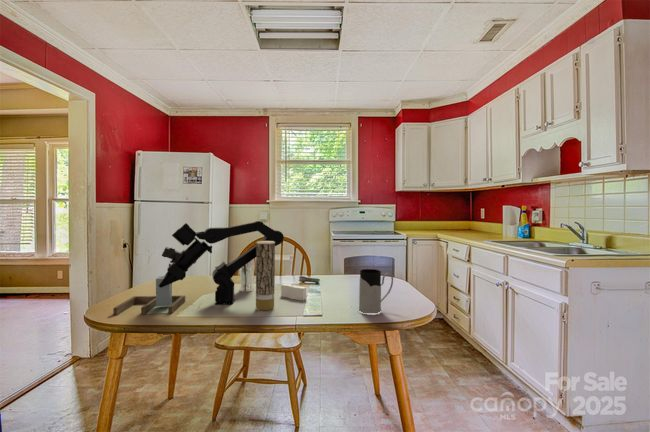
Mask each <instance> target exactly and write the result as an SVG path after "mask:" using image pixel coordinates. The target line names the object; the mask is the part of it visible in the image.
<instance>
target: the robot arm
mask: <svg viewBox="0 0 650 432" xmlns="http://www.w3.org/2000/svg"><path fill="white" fill-rule="evenodd" d="M255 232H259V233H260V234H261V235H262V236H263V237H262V239H261V240H260V241H274V242H275V247H277V246H279V245H281V244H282V243H283V242H284V240H285V239H284V238H285V237H284V233H282V232H281V231H279V230H276V229H273V228H271V227H270V226H268V225H266V224H265V223H264V222H263V221H260V220H256V221H253V222H247V223H243V224H238V225H233V226H228V227H208V228H206V229H205V230H203V231H198V232H196V231H195V230H194V229H193V228H191V226H190V225H189V224H188V223H187V222H185V223H184V224H183V225H182V226H180V228H178V229H177V230H176V231H174V233H172V235H171V237H173V238H174V239H175V240H176V241H177V242H178V243H179V244H180V245H182V246H185V245H186V246H188V247H187V248H186V249H183V250H182V251H178V250H176V248H173V247H168V246H166V247H165V248H164V249H163V252H162V253H161V256H162V257H163V258H167V259H170V263H168V266H167V269H166V270H167V272H166V273H165V275H164V276H165V278H164V279H163V280H162V282H161V283H160V285H159V287H160V288H162V287H164V286H166V285H168V284H171V283H172V284H173V283H175V282H177V281H183V280H184V279H185V278H186V274H187V272H188V271H189V268H191V267H192V266H193V265H194V264H196V263H197V260H199V259H200V258H201V257H202V256H203V255H204V254H205V253H206V252H208V253H209V254H212V253H213V244H216V243H218V242H221V241H224V240H225V239H228V238H230V237H234V236H240V235H244V234H249V233H255ZM200 240H203V241H200ZM208 244H210V245H208ZM211 244H212V245H211ZM253 259H254V260H255V259H256V244H255V245H254V246H252V247H251V248H249V249H248V250H246V251H245V252H243V253H241V255H239V256H238V257H237V258H235V259H234V260H232V261H230V262H228V263H226V261H222V262H221V263H220V264H219V265H218V266H215V267H214V268H215V269H214V270H213V271H212V280H213V282H214V283H215V284H216V285H218V286H216V291H214V292H215V293H214V302H215V305H233V304H234V302H235V301H236V298H235V282H234V280H233V279H232V278H233V277H234V276H235V274H236V273H237V271H238V272H239V269H240V268H242V267H243V266H244V265H246V264H247V263H249V262H250V261H251V260H253Z"/></svg>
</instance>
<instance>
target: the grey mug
mask: <svg viewBox="0 0 650 432" xmlns="http://www.w3.org/2000/svg"><path fill="white" fill-rule="evenodd" d="M359 274H360V275H359V276H360V277H359V289H358V290H359V296H358V298H359V299H358V301H359V302H358V304H359V305H358V309H359V311H361V312H363V313H378V312H380V311H382V306H381V305H382V302H383V301H384V300H385V299H386V298H387V297H388V295H389V294H390V293H391V290H392V289H393V284H394V276H393V274H391V272H390V273H389V272H386V273H384V275H383V276H382V275H381V274H382V271H381V270H379V269H373V268H372V269H371V268H365V269H360V271H359ZM387 275H390V277H391V280H390V281H391V282H390V287H389V289H388V291H387V292H386V294H385V295H384V296H383V297H382V286H383V285H384V283H385V277H386V276H387Z"/></svg>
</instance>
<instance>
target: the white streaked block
mask: <svg viewBox="0 0 650 432" xmlns="http://www.w3.org/2000/svg"><path fill="white" fill-rule="evenodd" d="M255 262H256V260H255V258H254V259H253V260H251V261H250V262H249V263H247V264H246V265H244V266H243V267H242V268H240V269H239V270H238V272H239V278H240V285H239V286H240V288H239V291H240V293H241V292H243V293H249V292H253V291H254V285H253V284H254V275H255V271H256V263H255Z"/></svg>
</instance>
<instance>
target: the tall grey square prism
mask: <svg viewBox="0 0 650 432" xmlns="http://www.w3.org/2000/svg"><path fill="white" fill-rule="evenodd" d="M164 278H165V275H164V276H163V275H162V276H158V277H157V278H155V296H156V307H158V306H170V305H171V303H172V296H173V283H171V284H168V285H166V286H164V287H162V288H160V287H159V285H160V283H161V282H162V280H163V279H164Z"/></svg>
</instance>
